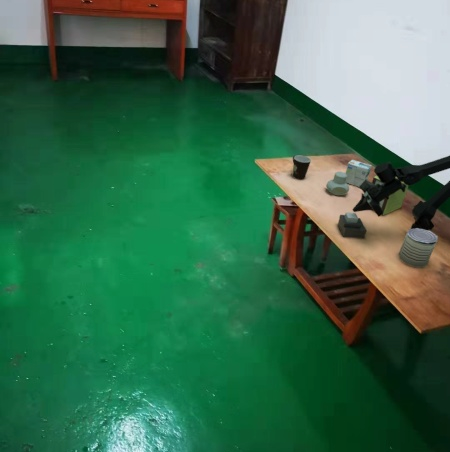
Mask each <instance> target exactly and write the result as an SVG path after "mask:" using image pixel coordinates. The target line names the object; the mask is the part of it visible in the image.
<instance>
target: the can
mask: <svg viewBox="0 0 450 452" xmlns="http://www.w3.org/2000/svg"><path fill="white" fill-rule="evenodd" d="M438 237H439V236H438V235H436V234H435V233H434V232H433V231H431V230H429V231H428V230H424V229H419V228H415V229H411V228H409V229H407V231H406V233H405V236H404V239H403V241H402V244H401V246H400V250H399V252H398V259H399V260H400V261H401V262H402V263H404V264H405V265H407V266H409V267H412V268H424V267H426V266H427V265H428V263H429V260H430V259H431V256H432V254H433V252H434V249H435V247H436V245H437V243H438V239H439V238H438Z"/></svg>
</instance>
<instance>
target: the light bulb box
mask: <svg viewBox="0 0 450 452" xmlns="http://www.w3.org/2000/svg"><path fill="white" fill-rule="evenodd" d="M371 168H372V165H371V164H368V163H364V162H363V161H362V162H361V161H358V160H356V159H351V160H350V161H349V162H347V166H346V170H345V172H344V173H345V174H346V175H347V178H346V183H347V184H348V185H349V184H350V185H351V186H355V187H357V188H360V187H359V186H360V185H361V184H362V183H363V182H364V181H365V179H366V180H368V179H369V176H370V173H371ZM368 181H369V180H368Z"/></svg>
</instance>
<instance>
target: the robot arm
mask: <svg viewBox="0 0 450 452" xmlns="http://www.w3.org/2000/svg"><path fill="white" fill-rule="evenodd" d="M446 170H450V155H447V156H445V157H440V158H438V159H435V160H432V161H428V162H426V163H423V164H411V165H405V166H402V167H393V164H392V163H391V161H387V162H382V163H379V164H377V165H376V166H375V167H374V170H373V172H374V173H375V175H376V176H378V178H379V179H380V181H381V182H383V184H381V185H380V184H376V185H374V184H373V183H372V181H369V180H366V179H365V181H364V182H363V183H362V184H361V185H360V186H359V187H358V188H360V190H361V191H362V192H361V198H360V200H359V201H358V202H357V203H356V205H355V206H354V207H353V208H352V212H353V213H358V212H364V211H373V210H374V211H373V212H374V213H375V214H376V216H377V217H378V218H380V217H381V216H382V215H383V212H384V211H383V209H382V208H381V206H380V202H381V201H382V200H384V199H385V198H386V199H387V200H388V199H390V198H389V196H390V195H392V194H393V193H395V192H397V191H398V190H400V189H401V190H402V191H403V192H405V188H406V185H409V186H413V185H414V184H417V183H419V182H421V181H422V180H423V179H424V178H426V177H428V176H431V175H434V174H437V173H441V172H443V171H446ZM395 177H397V178H398V179H395ZM401 182H404V183H405V184H406V185H405V184H402V183H401ZM389 193H390V194H389ZM449 199H450V180H448V181H447V182H446V183H445V184H444V185H443V186H442V187H441V188H440V189H438V191H437V192H435V193H434V195H433V196H431V197H430V198H429V199H428V200H426V201H423V200H419V201H418V202H417V204H416V205H413V209H412V210H411V215H412V216H413V220H414V222H412V224H411V227H410V229H415V228H419V229H424V230H428V231H431V230H433V229H434V227H435V225H434V222H433V221H432V220H433V219H434V217H435V215H436V213H437V210H438V209H439V208H440V207H441V206H442V205H443V204H444V203H446V202H447V201H448V200H449ZM383 216H384V215H383Z"/></svg>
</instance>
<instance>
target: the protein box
mask: <svg viewBox="0 0 450 452" xmlns="http://www.w3.org/2000/svg"><path fill="white" fill-rule="evenodd" d="M395 179H398V178H397V177H395ZM371 183H373V184H374V185H376V184H380V185H381V184H383V182H381V181H380V179H379V178H378V176H377V175H376V176H373V177H372V181H371ZM401 183H402V184H405V183H404V182H401ZM405 185H406V184H405ZM409 186H410V185H406V188H405V192H403V191H402V190H401V189H400V190H398V191H397V192H395V193H393V194H392V195H390V196H389V198H390V199H388V200H387V199H386V198H385V199H384V200H382V201H381V202H380V206H381V208H382V209H383V211H384V212H383V215H381V216H386V215H387V214H390V213H393V212H394V211H396V210H399V209H401V207H402V205H403V202H404V200H405V197H406V195H407V191H408V188H409ZM389 194H390V193H389ZM373 212H375V211H374V210H373Z"/></svg>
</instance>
